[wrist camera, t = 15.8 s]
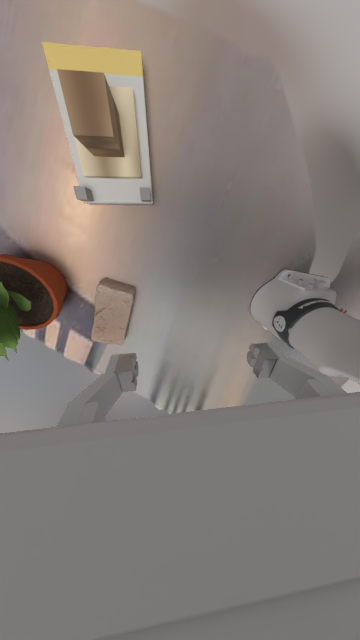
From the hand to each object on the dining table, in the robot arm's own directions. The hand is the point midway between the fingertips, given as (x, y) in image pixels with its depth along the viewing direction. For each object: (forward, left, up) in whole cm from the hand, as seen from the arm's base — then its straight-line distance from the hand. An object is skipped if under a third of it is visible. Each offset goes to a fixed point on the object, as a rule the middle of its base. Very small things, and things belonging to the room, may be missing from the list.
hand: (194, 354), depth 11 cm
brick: (+15, +12, -32) cm, 37 cm away
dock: (+9, -19, -31) cm, 38 cm away
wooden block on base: (+9, -19, -28) cm, 35 cm away
